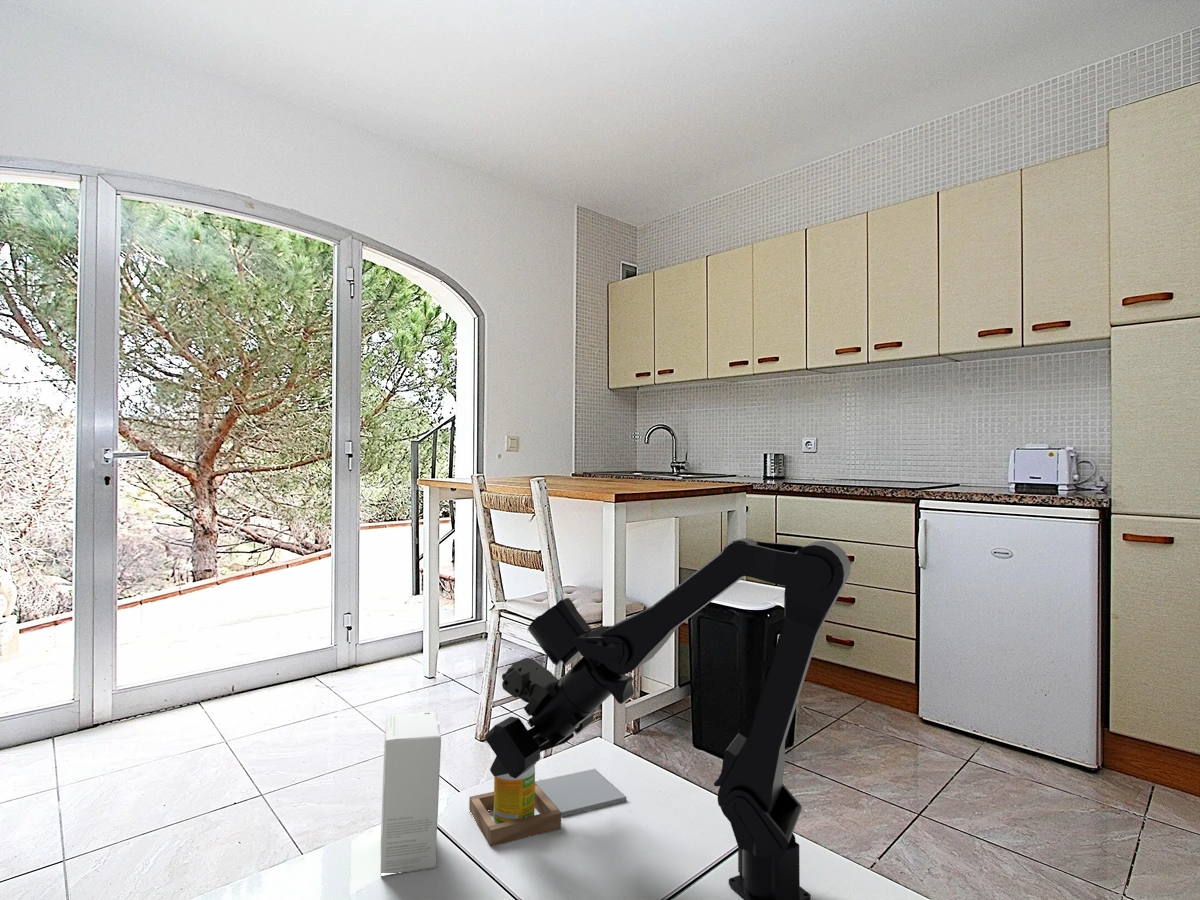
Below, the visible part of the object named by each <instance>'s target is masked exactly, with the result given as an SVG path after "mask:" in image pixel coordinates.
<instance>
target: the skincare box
mask: <svg viewBox="0 0 1200 900" xmlns="http://www.w3.org/2000/svg"><path fill="white" fill-rule="evenodd" d="M385 718H386V719H385V728H384V729H385V730H384V743H383V744H384V746H383V747H384V748H383V766H382V767H383V772H382V792H381V793H382V795H381V797H382V799H381V824H380V825H381V831H380V832H381V833H380V874H381V873H399V872H407V873H412V872H411V871H413V872H418V870H419V871H425V870H429V869H435V868H436V863H437V861H436V860H437V841H438V840H437V839H438V837H437V836H438V816H439V815H438V814H439V797H440V795H439V793H440V792H439V791H440V772H441V750H442V749H441V748H442V736H441V729H440V725H441V722H440V720H439V719H438V714H437V710H433V711H432V710H431V711H423V712H422V711H421V712H420V711H419V712H411V713H401V714H399V713H398V714H397V713H396V714H389V715H386V717H385ZM416 870H417V871H416ZM409 871H410V872H409Z"/></svg>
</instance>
